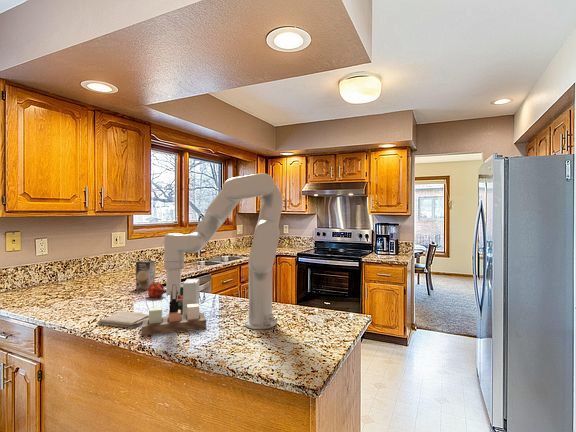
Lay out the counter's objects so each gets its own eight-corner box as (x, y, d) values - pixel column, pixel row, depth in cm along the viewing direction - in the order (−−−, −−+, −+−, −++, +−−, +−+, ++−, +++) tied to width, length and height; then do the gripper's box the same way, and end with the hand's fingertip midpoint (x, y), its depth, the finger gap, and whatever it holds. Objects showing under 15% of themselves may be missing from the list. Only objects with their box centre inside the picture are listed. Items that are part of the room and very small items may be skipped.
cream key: (198, 315, 134) (198, 303, 134) (199, 318, 130) (199, 306, 130) (186, 316, 133) (186, 304, 133) (187, 320, 129) (187, 307, 129)
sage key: (161, 319, 130) (161, 306, 130) (161, 322, 126) (161, 309, 125) (149, 320, 128) (149, 307, 128) (149, 324, 124) (149, 311, 124)
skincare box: (186, 311, 151) (186, 278, 151) (199, 310, 151) (199, 278, 151) (182, 316, 142) (182, 282, 142) (196, 316, 143) (196, 282, 143)
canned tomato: (181, 305, 160) (181, 282, 160) (192, 307, 156) (192, 284, 156) (167, 309, 154) (167, 285, 153) (179, 311, 150) (179, 287, 149)
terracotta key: (180, 322, 132) (180, 309, 132) (180, 325, 128) (180, 312, 128) (168, 323, 131) (168, 310, 131) (168, 326, 126) (168, 313, 126)
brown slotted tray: (203, 320, 138) (203, 312, 138) (205, 328, 128) (206, 320, 128) (143, 326, 130) (143, 318, 130) (141, 335, 121) (141, 326, 121)
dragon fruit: (152, 297, 182) (161, 304, 173) (140, 290, 176) (149, 297, 168) (162, 283, 184) (171, 290, 176) (150, 276, 179) (159, 283, 171)
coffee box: (135, 288, 195) (135, 261, 195) (141, 286, 201) (141, 260, 201) (149, 289, 193) (149, 262, 193) (155, 287, 200) (155, 260, 200)
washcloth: (134, 329, 128) (134, 321, 128) (96, 325, 132) (96, 318, 132) (154, 320, 139) (154, 313, 139) (118, 316, 144) (118, 309, 144)
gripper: (164, 262, 135) (163, 307, 135) (163, 268, 121) (163, 318, 121) (183, 261, 137) (183, 305, 137) (185, 267, 123) (184, 316, 123)
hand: (173, 311), depth 129 cm, fingers closed
